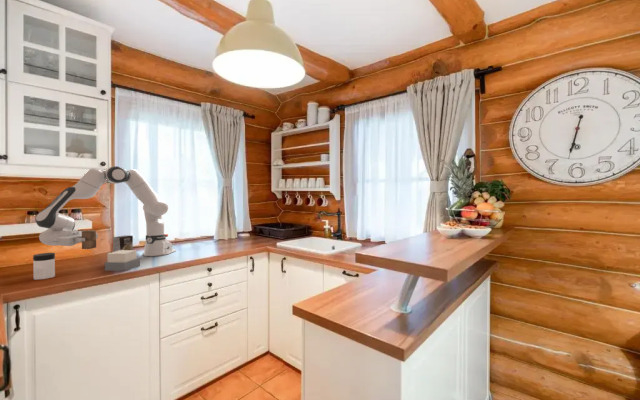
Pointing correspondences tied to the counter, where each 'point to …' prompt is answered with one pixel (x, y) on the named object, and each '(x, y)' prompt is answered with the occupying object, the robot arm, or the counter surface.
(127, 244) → the coffee box
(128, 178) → the robot arm
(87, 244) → the walnut block
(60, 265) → the counter surface
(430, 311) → the counter surface
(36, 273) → the jar
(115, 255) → the tower top
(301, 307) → the counter surface
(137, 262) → the tower base
